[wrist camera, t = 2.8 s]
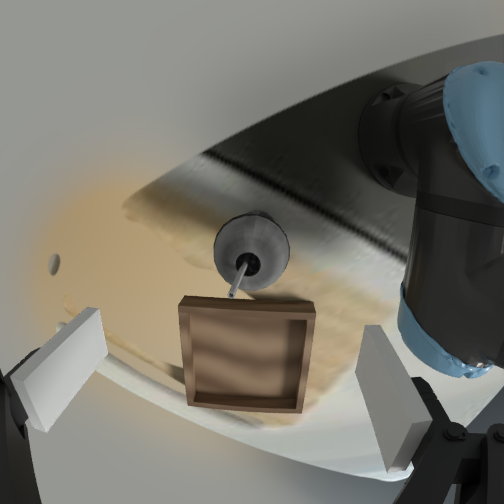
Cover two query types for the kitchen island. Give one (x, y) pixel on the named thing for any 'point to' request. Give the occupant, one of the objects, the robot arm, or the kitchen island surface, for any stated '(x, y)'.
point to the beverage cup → (251, 252)
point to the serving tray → (246, 353)
